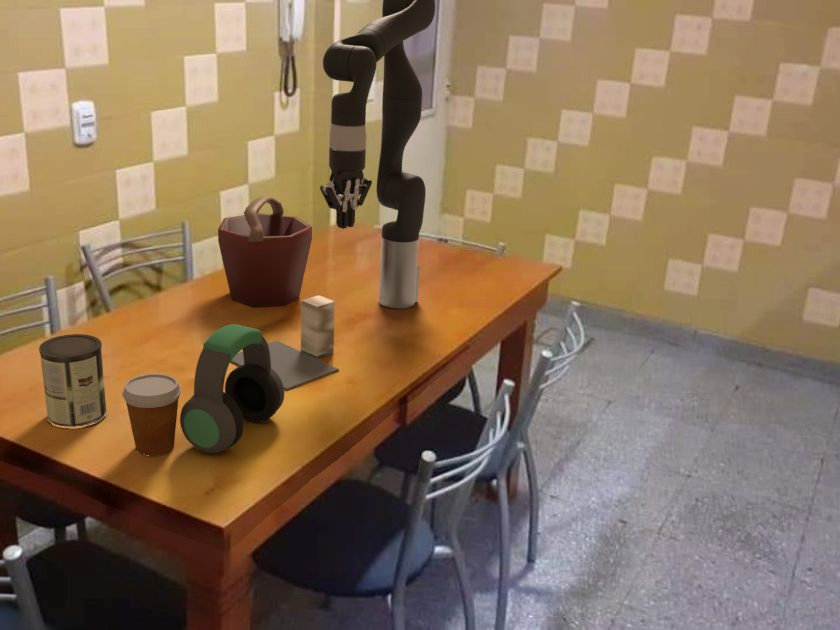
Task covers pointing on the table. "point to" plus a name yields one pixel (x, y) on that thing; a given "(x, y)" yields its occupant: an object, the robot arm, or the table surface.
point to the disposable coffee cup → (152, 412)
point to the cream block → (317, 326)
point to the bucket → (264, 255)
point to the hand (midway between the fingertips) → (345, 226)
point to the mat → (292, 365)
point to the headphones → (230, 389)
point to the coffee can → (73, 380)
